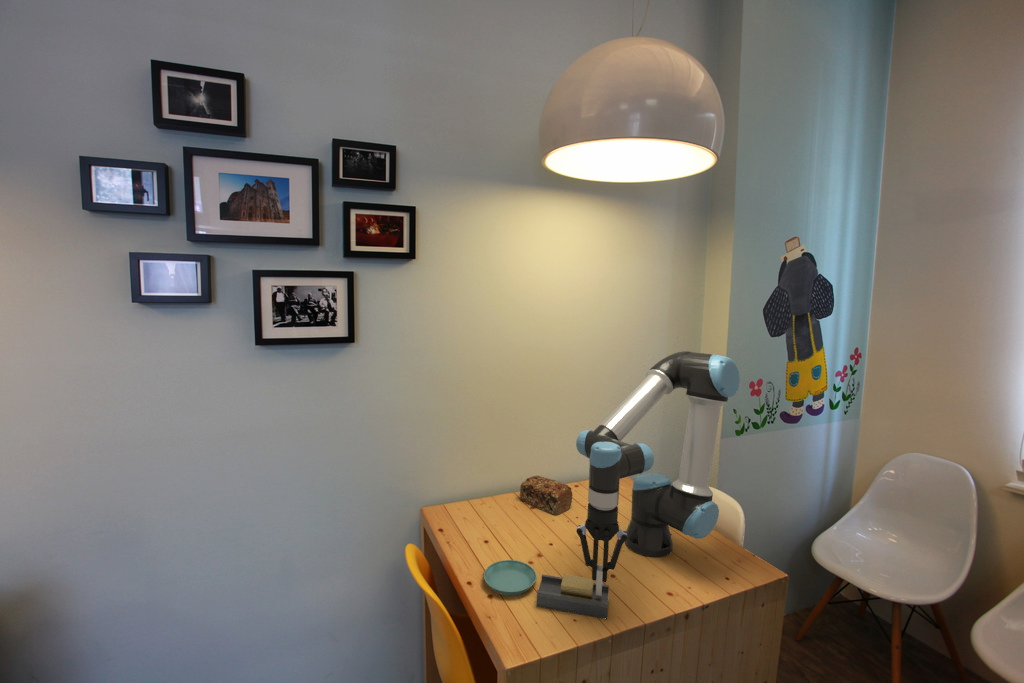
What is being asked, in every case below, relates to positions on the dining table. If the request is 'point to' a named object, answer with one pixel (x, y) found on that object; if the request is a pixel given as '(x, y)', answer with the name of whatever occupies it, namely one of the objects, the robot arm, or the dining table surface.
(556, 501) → the bread
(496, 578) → the saucer
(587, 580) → the tan rectangular block
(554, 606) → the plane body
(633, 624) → the dining table surface
